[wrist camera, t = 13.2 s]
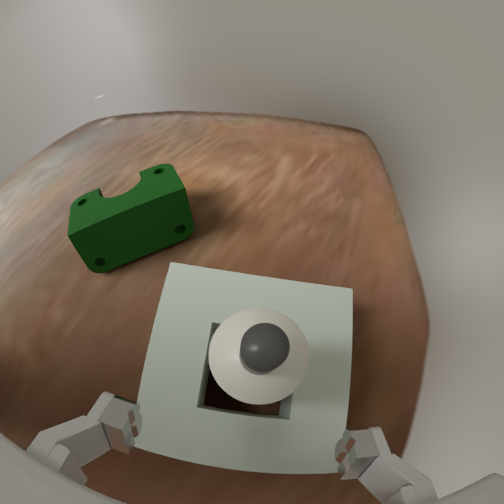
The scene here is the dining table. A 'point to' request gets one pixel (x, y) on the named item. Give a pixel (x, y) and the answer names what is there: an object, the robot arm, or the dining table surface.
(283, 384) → the white bottle
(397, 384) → the dining table surface
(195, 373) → the housing
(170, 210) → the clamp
